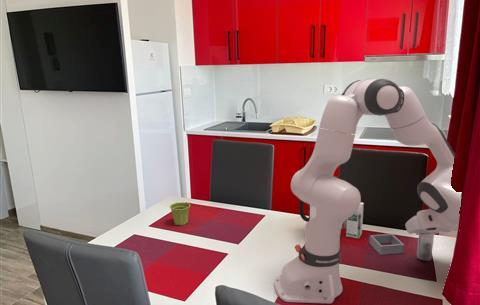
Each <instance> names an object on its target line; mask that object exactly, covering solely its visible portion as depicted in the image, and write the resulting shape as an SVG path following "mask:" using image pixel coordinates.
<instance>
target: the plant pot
mask: <svg viewBox="0 0 480 305" xmlns="http://www.w3.org/2000/svg"><path fill="white" fill-rule="evenodd" d="M190 207H191V204H190V203H189V202H183V201H181V202H175V203H172V204H170V206H169V208H170V210H171V213H172V217H173V222H174V225H176V226H177V225H178V226H185V225H187V223H188V222H189V211H190Z"/></svg>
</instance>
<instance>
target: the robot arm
mask: <svg viewBox="0 0 480 305" xmlns="http://www.w3.org/2000/svg"><path fill="white" fill-rule="evenodd" d="M365 115H366V116H379V117H380V116H384V117H385V118H386V120H387V123H388V126H389V128H390V131H391V133H392V135H393V137H394V139H395V140H396V141H397V142H398V143H400V144H402V145H405V146H408V147H410V146H411V147H412V146H413V147H414V146H415V147H416V146H422V145H426V146H427V147H428V149H429V150H430V152H431V154H432V155H433V157H434V158H435V160H436V168H435V169H434V170H433V171H432V172H431V173H430V174H429V175H427V176H425V178H424V179H423V180H421V182H419V183H418V184H417V188H416V189H417V190H416V191H417V195H418V197H419V199H420V201H421V202H422V203H423V204H424V205H425V206H426V207H427V208H428V209H427V208H426V209H423V210H419V211H417V212H416V215H414V216H412V217H411V218H410V219H408V220H407V221H406V223H405V224H404V225H405V229H406V233H408V234H410V235H411V234H415V235H416V236H419V235H421V234H422V233H430V232H434V235H436V234H438V233H450V232H458V231H457V229H458V223H459V211H460V207H461V199H462V192H456V191H455V190H454V189H453V188H452V186H451V177H452V170H453V164H454V158H455V155H456V153H455V151H454V150H453V149H452V146H451V145H450V143H449V142H448V139H447V138H446V136H445V135H444V133H443V131H442V130H441V129H440V127H439V126H438V125H436V124H435V123H433V122H431V121H430V119H429V118H428V116H427V115H426V111H425V110H424V107H423V106H422V104H421V101H420V100H419V98H418V96H417V95H416V93H415V92H414V90H413V89H412V88H411V87H408V86H405V85H404V86H398V84H396V83H395V82H394V81H392V80H390V79H385V78H380V79H379V78H365V79H358V80H355V81H353V82H351V83H350V84H349V85H347V86H346V88H345V89H344V91H343V92H342V94H340V95H339V94H338V95H333V96H332V97H330V99H328V101H327V103H326V105H325V107H324V110H323V113H322V116H321V119H320V122H319V126H318V127H319V128H318V132H317V135H316V141H315V144H314V148H313V152H312V154H311V156H310V158H309V160H308V161H307V163H306V164H305V165H304V167H302V168H301V169H299V170H298V171H296V172H295V173H294V175H293V176H292V178H291V182H290V189H291V192H292V193H293V195H295V196H296V197H297V199H300V200H302V201H303V202H304V203H305V204H308V205H309V204H310V205H312V206H314V207H315V208H316V217H315V218H313V219H311V220H309V221H308V222H306V223H305V227H304V245H303V246H302V247H301V245H300V244H295V246H294V250H295V252H296V253H298V256H296V257H295V258H294V259H292V260H291V261H289V262H288V263H286V264H284V265H283V267H282V270H281V274H279V275H277V276H275V279H274V282H273V284H274V285H273V286H274V289H275V290H274V291H275V292H276V294H277V296H278V297H279V298H280V299H281V300H282V301H283V302H286V303H302V304H303V303H308V304H309V303H310V304H333V302H334V301H335V298H337V297H338V296H340V295H341V294H342V292H343V285H342V280H341V273H340V264H341V258H342V257H341V255H342V254H341V248H340V239H341V238H340V235H341V230H342V228H341V227H342V224H343V222H344V221H345V219H347V218H348V217H350V216H352V215H353V214H355V213H356V211H357V210H358V208H359V206H360V203H362V202H361V201H362V200H361V199H362V198H361V192H360V191H359V189H358V188H357V187H356V186H354V185H353V184H351V183H349V181H348V182H347V181H346V180H344V179H340V178H339V177H337V178H335V177H336V176H335V177H333V176H334V174H335V171H336V170H337V168H338V167H339V166H340V165H343V164H345V163H347V162H348V161H349V159H350V158H351V156H352V150H353V145H354V143H355V142H354V141H355V137H356V132H357V128H358V123H359V121H360V120H361V118H362V117H363V116H365Z"/></svg>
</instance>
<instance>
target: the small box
mask: <svg viewBox="0 0 480 305" xmlns="http://www.w3.org/2000/svg"><path fill="white" fill-rule="evenodd" d="M341 229H343V230H347V219H345V221H344V222H343V224H342V227H341Z"/></svg>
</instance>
